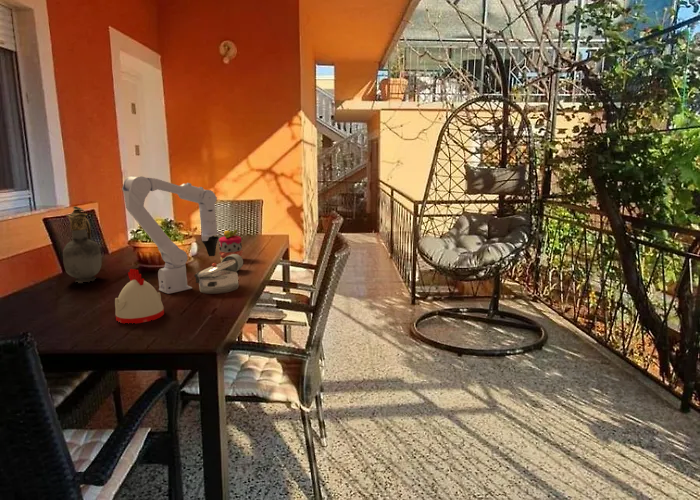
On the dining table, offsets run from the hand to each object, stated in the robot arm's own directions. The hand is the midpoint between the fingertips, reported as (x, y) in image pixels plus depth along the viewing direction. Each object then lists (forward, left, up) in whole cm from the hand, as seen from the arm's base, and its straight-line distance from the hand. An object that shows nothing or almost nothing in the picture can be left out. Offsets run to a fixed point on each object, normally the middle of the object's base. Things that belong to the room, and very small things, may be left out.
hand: (211, 255), depth 187 cm
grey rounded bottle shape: (-33, +43, -11) cm, 55 cm away
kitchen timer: (-37, -19, -11) cm, 43 cm away
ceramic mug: (+13, +10, -11) cm, 19 cm away
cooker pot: (-4, -10, -10) cm, 15 cm away
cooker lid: (-4, -10, -3) cm, 11 cm away
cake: (+25, +28, -11) cm, 39 cm away
